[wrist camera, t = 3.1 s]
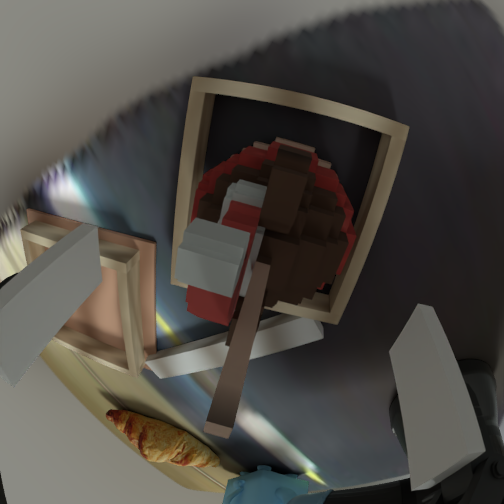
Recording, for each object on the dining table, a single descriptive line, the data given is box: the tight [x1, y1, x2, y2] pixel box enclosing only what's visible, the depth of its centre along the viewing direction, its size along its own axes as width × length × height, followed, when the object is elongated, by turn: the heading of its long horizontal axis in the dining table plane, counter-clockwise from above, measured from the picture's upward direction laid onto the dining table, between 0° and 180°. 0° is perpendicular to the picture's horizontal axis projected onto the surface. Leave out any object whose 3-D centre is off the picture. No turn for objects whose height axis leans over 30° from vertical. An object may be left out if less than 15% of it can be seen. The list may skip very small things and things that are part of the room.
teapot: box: [222, 465, 309, 504], centre depth 40 cm, size 18×16×13 cm
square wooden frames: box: [21, 76, 409, 379], centre depth 25 cm, size 34×32×3 cm
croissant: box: [106, 409, 220, 468], centre depth 41 cm, size 21×10×8 cm, turn 60°
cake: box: [174, 137, 357, 439], centre depth 14 cm, size 11×9×18 cm
